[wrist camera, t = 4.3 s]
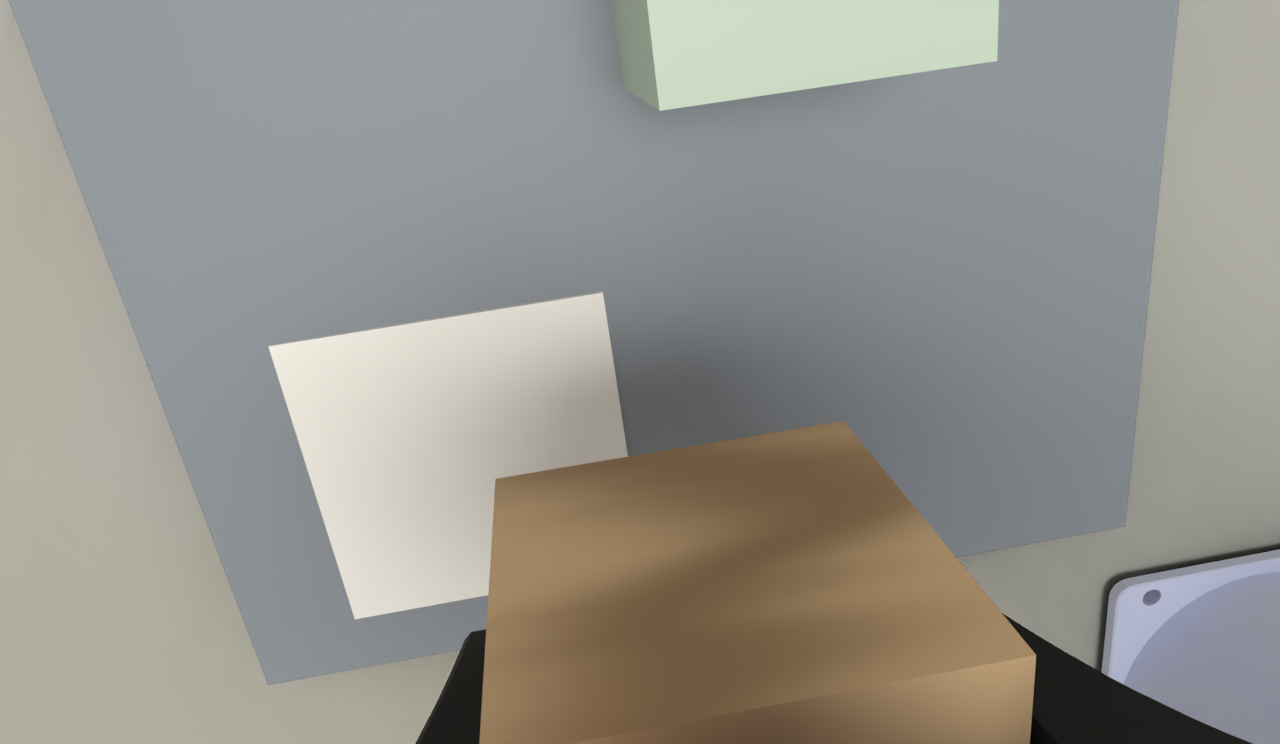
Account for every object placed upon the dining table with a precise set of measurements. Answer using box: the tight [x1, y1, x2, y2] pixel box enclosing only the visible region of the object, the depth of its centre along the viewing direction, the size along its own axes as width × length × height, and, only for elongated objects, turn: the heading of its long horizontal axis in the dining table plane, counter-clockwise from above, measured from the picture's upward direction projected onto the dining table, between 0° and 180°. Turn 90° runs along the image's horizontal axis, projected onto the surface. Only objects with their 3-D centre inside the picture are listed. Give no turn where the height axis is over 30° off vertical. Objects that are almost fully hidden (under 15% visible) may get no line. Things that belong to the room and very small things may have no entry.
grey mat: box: [9, 0, 1179, 685], centre depth 18 cm, size 22×18×1 cm
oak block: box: [479, 421, 1036, 744], centre depth 11 cm, size 5×5×5 cm
